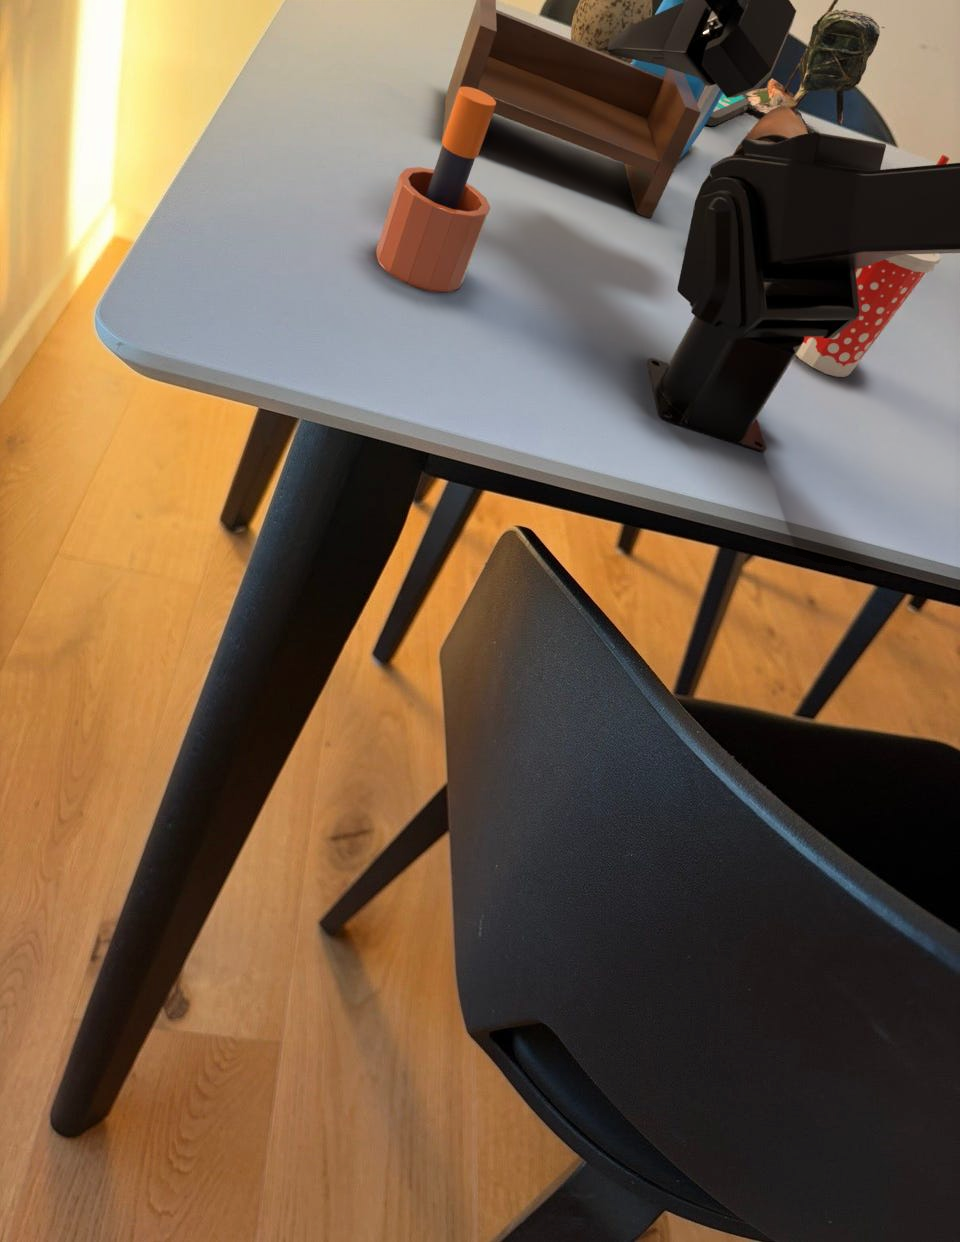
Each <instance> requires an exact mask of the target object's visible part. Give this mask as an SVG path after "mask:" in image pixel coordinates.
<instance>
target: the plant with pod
mask: <svg viewBox="0 0 960 1242" xmlns="http://www.w3.org/2000/svg"><path fill="white" fill-rule="evenodd" d="M838 2H839V0H833V1H832V3H831V5H829V8H828V9H827V10H826V12H825V13H824V14H822V15H821V16H820V17H819V18H818V19H817V20H816V23H814V24H813V25H812V28H811V34H810V36H809V37H810V38H809V41H808V44H807V46H806V49H805V51H804V52H803V56H802V57H801V58H800V60H799V62H798V63H797V65H796V67H795V69H794V71H793V73H791V75H790V77H789V79H788V81H787V83H786V84H785V86H784V85H783V84H781V83H780V82H779V81H777V80H775V79H774V78H771V79H768V80H767V84H766V87H765V88H758V89H756V90H753V91H751V92H748V93H745V94H744V96H745V98H746V99H748V100H749V101H751V103H750V107H752V108H754V109H756V111H758V112H761V113H764V114H765V115H766V114H767V113H768V112H769V111H771V110H773V109H775V108H777V107H779V106H786V107H788V108H789V109H791V110H792V111H793V112H794V113H795V114H796V115H797V117H798V118H799V120H800V121H801V122H802V124H803V125H804V126H805V128H806V130H807V132H808V133H812V131H810V130H809V129H808V128H807V125H808V124H807V123H806V121H805V119H804V117H803V115H802V113H801V112H800V111H799V110H798V109H797V107H798V106H799V105H800V102H801V101H802V100H803V99H804V97H805V96H806V95H807V94H808V93H809V92H820V91H830V92H832V93H836V101H835V102H836V118H837V124H838V126H842V123H843V118H844V116H843V111H844V92H847V91H851V90H853V89H855V87H857V85H859V84H860V82H861V80H862V78H863V76H864V73H865V72H866V70H867V63H868V61H869V58H870V56H872V54H873V52H874V51H875V48H876V46H877V44H878V41H879V38H880V36H881V31H880V25H879V24H878V23H877V22H876V20H875V19H874V18H873V17H872V16H871V15H869V14H866V13H863V12H857V11H854V10H853V11H851V10H850V11H849V10H847V9H843V10H839V9H835V10H834V8H835V6H836V5H837V4H838ZM881 28H882V29H886V27H884V26H881ZM798 71H799V78H800V85H799V88H798V90H797V91H796V94H795V95H794V94H793V93H792V92H791V91H790V90H789V89H788V85H789V83H790V82H791V81H792V80H793V78H794V77H795V76H796V74H797V73H798ZM744 96H743V97H744ZM744 100H745V99H744ZM748 103H749V102H748Z"/></svg>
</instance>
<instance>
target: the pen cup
mask: <svg viewBox="0 0 960 1242" xmlns="http://www.w3.org/2000/svg"><path fill="white" fill-rule="evenodd" d="M434 170H435V169H432V168H425V167H420V166H416V167H408V168H405V169H404V170H403V171H402V172H401V173H400V174H399V176H398V178H397V182H396V185H395V188H394V191H393V194H392V197H391V201H390V204H389V206H388V207H389V208H388V211H387V214H386V218H385V220H384V223H383V227H382V230H381V234H380V236H379V240H378V243H377V247H376V249H375V253H376V259H377V261H378V263H379V265H380V266H381V267H382V268H383V270H385V271H386V272H387V273H389V274H390V275H391V276H393V277H394V278H396V279H397V280H400V281H401V282H403V283H405V284H408V285H410V286H411V287H414V288H417V289H421V290H423V291H428V292H433V293H450V292H455V291H457V290H458V289H460V288H461V286H462V284H463V282H464V280H465V277H466V274H467V272H468V269H469V266H470V264H471V261H472V260H473V259H472V258H473V256H474V254H475V251H476V248H477V245H478V242H479V240H480V237H481V235H482V232H483V229H484V226H485V223H486V221H487V218H488V215H489V213H490V210H491V206H490V204H489V201H488V199H487V197H485V195H483V193H481V192H480V191H479V190H478V189H476V188H475V187H474V186H473V185H471V184H469V183H468V182H467V183H466V185H465V188H464V191H463V194H462V197H461V200H460V203H459V205H458V208H457V210H454V209H451V208H448V207H445V206H442V205H439V204H437V203H435V202H433V201H431V200H429V199H428V198H426V194H427V191H428V188H429V185H430V182H431V179H432V176H433V173H434Z"/></svg>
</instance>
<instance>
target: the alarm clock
mask: <svg viewBox="0 0 960 1242" xmlns="http://www.w3.org/2000/svg"><path fill="white" fill-rule="evenodd" d="M685 1H687V0H662V2H661V3H660V5H659V6H658V8H657V9H656V12H655V14H654V15H656V14H658V13H660V12H662V11H665V10H667V9H669V8H671V7H673V6H676V5H678V4H680V3H682V2H685ZM630 64H632V65H635V66H637V67H640V68H642V69H645V70H647V71H650V72H652V73H655V74H657V75H659V76H662V77H663V74H664V72H665V70H666V68H667V67H663V66H660V65H656V64H652V63H648V62H643V61H638V60H634V59H633V61H632V62H631V63H630ZM684 75H685V77H686V79H687V82H688V84H689V86H690V89H691V91H692V93H693V96H694V98H695V100H696V103H697V105H698V107H699V110H700V112H701V114H700V116H699V118H698V120H697V122H696V124H695V126H694V129H693V131H692V133H691V135H690V137H689V139H688V141H687V143H686V145H685V148H684V150H683V152H682V154H681V156H680V158H681V157H683V156H684V155H686V153H687V152H688V151H689V150H690V149H691V147H692V146H693V144H694V143H695V142H696V140H697V139H698V137H699V135H700V134H701V132H702V131H703V129H704V127H705V126H706V125H707V124H706V123H707V121H708V119H709V118H710V116H711V114H712V112H713V111H714V109H715V107H716V105H717V103H718V101H719V100H720V98H721V96H722V94H723V92H722V91H721V90H720V88H719V87H718V86H717V84H715V85H712V86H706V85H705V84H704V83H703V82H702V81H701V80H700V79H699V78H698V77H695V76H692V75H689V74H686V73H684Z"/></svg>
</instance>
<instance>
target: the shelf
mask: <svg viewBox="0 0 960 1242" xmlns="http://www.w3.org/2000/svg"><path fill="white" fill-rule="evenodd" d="M496 3H497V0H476V1H475V4H474V7H473V9H472V13H471V16H470V19H469V21H468V26H467V28H466V31H465V35H464V38H463V41H462V44H461V47H460V50H459V54H458V56H457V59H456V62H455V66H454V68H453V72H452V75H451V79H450V81H449V84H448V87H447V90H446V94H445V101H444V102H445V103H444V114H443V127H442V138H441V139H443V136H444V133H445V130H446V127H447V124H448V121H449V118H450V115H451V112H452V109H453V106H454V103H455V99H456V96H457V93H458V90H459V88H460V87H471V88H475V89H477V90H480V91H482V92H484V93H486V94H488V95H489V96H491V97H492V98H493V99H494V100H495V101H496V106H495V109H494V112H493V114H494V115H497V116H499V117H502V118H505V119H507V120H510V121H512V122H515V123H518V124H520V125H523V126H526V127H529V128H531V129H534V130H536V131H539V132H541V133H543V134H544V133H545V134H546V135H550V136H552V137H554V138H556V139H560V140H563V141H564V142H567V143H570V144H573V145H576V146H578V147H581V148H583V149H586V150H589V151H590V152H591V151H592V152H594V153H596V154H599V155H601V156H603V157H606V158H609V159H612V160H615V161H618V162H620V163H623V164H624V168H625V172H626V177H627V181H628V184H629V188H630V192H631V196H632V200H633V204H634V208H635V212H636V214H638V215H640V216H644V217H646V218H649V219H652V218H653V215H654V214H655V211H656V209H657V207H658V205H659V203H660V200H661V198H662V197H663V194H664V192H665V190H666V189H667V185H668V184H669V182H670V179H671V177H672V175H673V173H674V171H675V169H676V166H677V164H678V162H679V160H680V158H681V157H680V156H681V154H682V152H683V150H684V148H685V145H686V143H687V141H688V139H689V137H690V135H691V133H692V131H693V129H694V126H695V124H696V122H697V120H698V118H699V116H700V114H701V112H700V110H699V107H698V105H697V103H696V100H695V98H694V96H693V93H692V91H691V89H690V86H689V84H688V82H687V79H686V77H685V75H684V73H682V72H679V71H676V70H673V69H670V68H666V70H665V72H664V74H663V77H662V76H659V75H657V74H655V73H652V72H650V71H647V70H645V69H642V68H640V67H637V66H635V65H632V64H631V63H627V62H625V61H622V60H620V59H617V58H615V57H612V56H610V55H607V54H605V53H602V52H600V51H598V50H595V49H593V48H590V47H588V46H585V45H583V44H580V43H578V42H575V41H573V40H571V38H568V37H565V36H563V35H560V34H558V33H555V32H553V31H550V30H548V29H545V28H543V27H540V26H538V25H535V24H533V23H530V22H528V21H526V20H523V19H521V18H518V17H516V16H513V15H510V14H508V13H505V12H503V11H501V10H498V9H497V4H496Z"/></svg>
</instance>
